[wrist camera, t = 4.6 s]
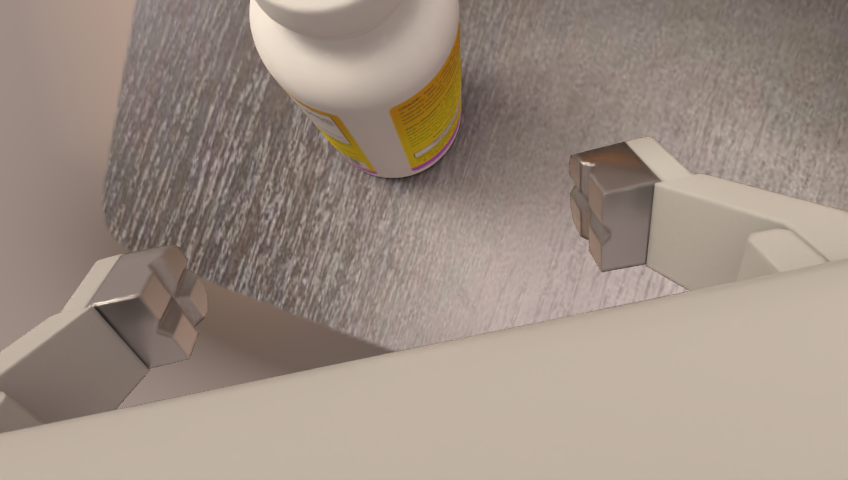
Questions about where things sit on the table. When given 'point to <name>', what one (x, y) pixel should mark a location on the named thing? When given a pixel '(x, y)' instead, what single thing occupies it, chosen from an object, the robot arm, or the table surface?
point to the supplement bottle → (369, 75)
